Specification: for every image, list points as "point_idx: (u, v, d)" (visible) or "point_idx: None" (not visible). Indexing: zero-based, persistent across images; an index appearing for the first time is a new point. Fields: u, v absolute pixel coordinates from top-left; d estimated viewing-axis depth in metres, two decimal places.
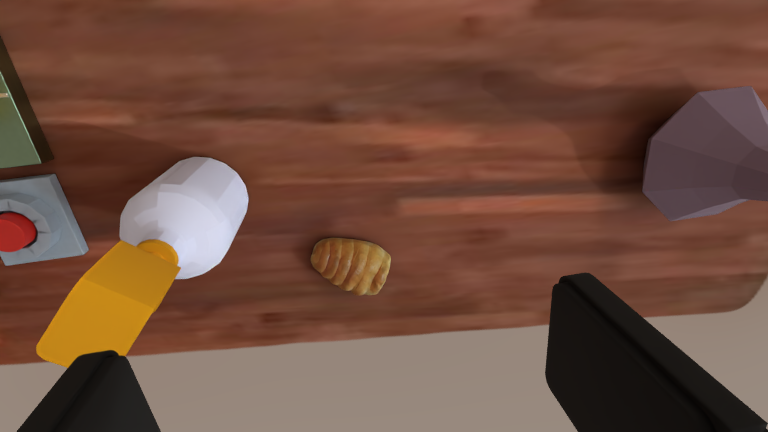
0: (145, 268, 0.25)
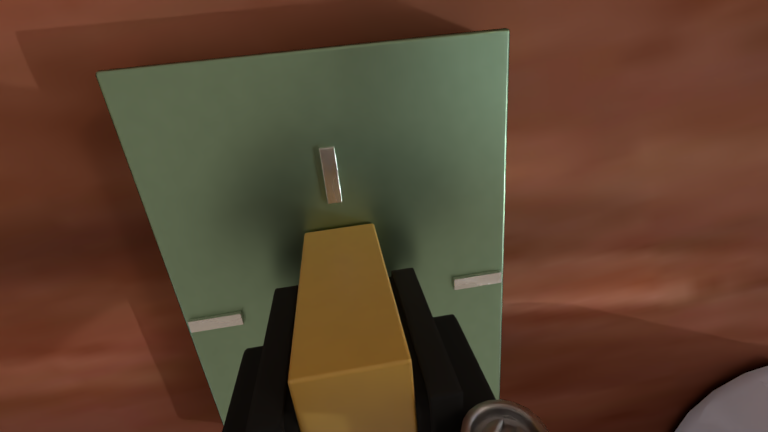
0: None
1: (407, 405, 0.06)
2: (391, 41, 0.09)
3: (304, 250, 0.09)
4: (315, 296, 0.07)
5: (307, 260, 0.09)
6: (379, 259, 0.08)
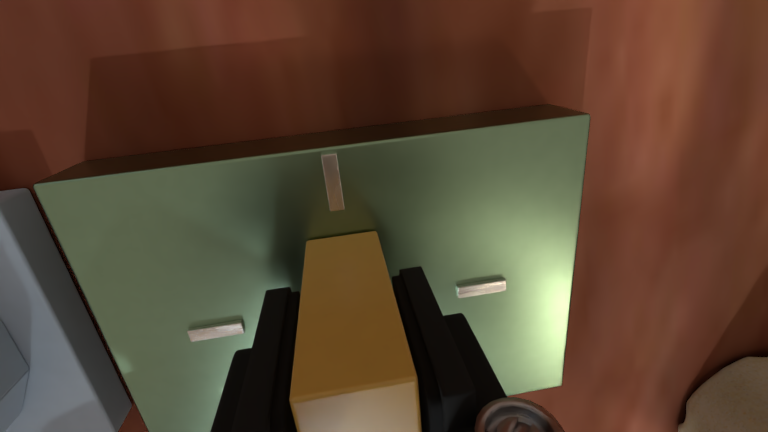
0: None
1: (412, 423, 0.06)
2: (568, 320, 0.12)
3: (306, 259, 0.09)
4: (317, 308, 0.07)
5: (309, 269, 0.09)
6: (383, 269, 0.08)
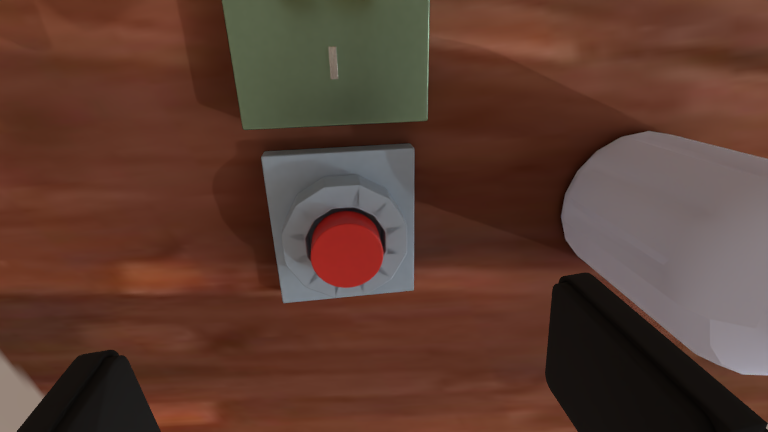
0: None
1: None
2: None
3: None
4: None
5: None
6: None
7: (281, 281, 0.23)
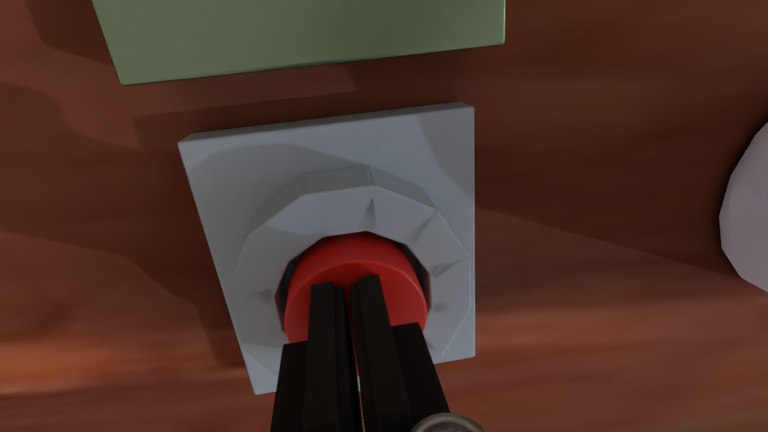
0: None
1: None
2: None
3: None
4: None
5: None
6: None
7: (247, 361, 0.13)
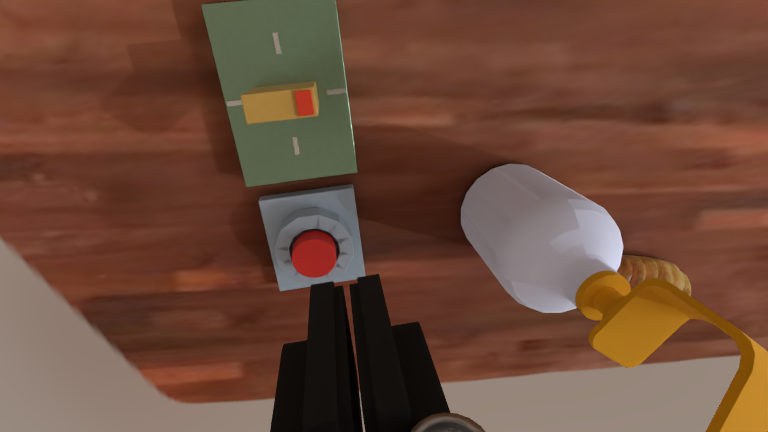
0: None
1: (254, 95, 0.24)
2: None
3: None
4: None
5: None
6: (249, 91, 0.27)
7: (277, 277, 0.36)
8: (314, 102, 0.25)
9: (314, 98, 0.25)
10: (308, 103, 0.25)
